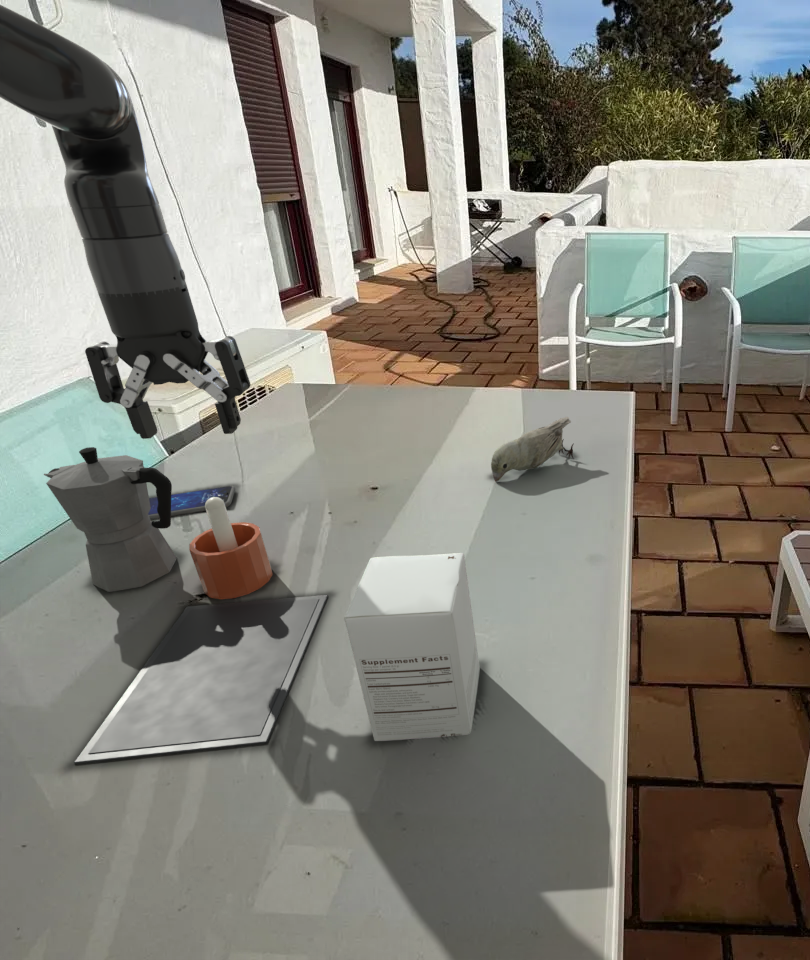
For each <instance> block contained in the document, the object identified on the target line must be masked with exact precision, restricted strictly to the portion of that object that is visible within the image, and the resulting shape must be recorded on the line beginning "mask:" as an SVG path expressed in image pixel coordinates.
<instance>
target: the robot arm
mask: <svg viewBox="0 0 810 960" xmlns="http://www.w3.org/2000/svg"><path fill="white" fill-rule="evenodd" d="M0 98H1V99H2V100H4V101H5V102H8V103H9V104H11V105H13V106H15V107H16V108H18V109H20V110H22V111H24V112H26V113H27V114H29V115H31V116H32V117H35V118H37V119H38V120H41V121H43V122H44V123H47V124H49V125H50V126H51V127H52V130H53V133H54V136H55V140H56V143H57V145H58V149H59V151H60V155H61V158H62V160H63V163H64V165H65V175H64V179H63V180H64V181H63V184H64V190H65V195H66V198H67V201H68V204H69V207H70V211H71V213H72V217H73V219H74V222H75V224H76V227H77V230H78V233H79V235H80V238H81V241H82V244H83V248H84V253H85V254H84V255H85V258H86V262H87V266H88V270H89V272H90V275H91V278H92V280H93V283H94V286H95V289H96V291H97V295H98V298H99V300H100V303H101V306H102V309H103V312H104V314H105V317H106V319H107V323H108V324H109V328H110V331H111V333H112V334H113V335H114V336H115V337H116V344H110V343H109V342H107V341H99V342H97V343H95V344H92V345H90V346H88V347H86V349H85V350H84V352H85V353H84V354H85V356H86V359H87V363H88V367H89V369H90V372H91V375H92V378H93V381H94V385H95V388H96V391H97V394H98V397H99V399H100V400H101V402H103V403H105V404H110V403H115V404H119V405H121V406H122V407H124V409H125V411H126V413H127V416H128V419H129V422H130V425H131V427H132V430H133V431H134V433H136V435H139V436H140V438H141V439H143V440H146V439H147V440H148V439H152V438H153V437H155V436H156V435H157V434H158V428H157V424H156V421H155V419H154V416H153V413H152V411H151V408H150V404H149V402H148V401H147V400H144V398H145V396H146V394H147V393H148V392H147V391H148V390H149V388H150V387H151V385H152V384H153V386H157V385H165V384H167V383H172V384H186V383H187V382H190V383H191V384H192V385H193V386H195V387H196V389H199V390H203V391H205V393H207V394H208V396H211V398H213V399H214V400H215V401H216V402H215V403H214V406H215V409H216V413H217V416H218V419H219V423H220V426H221V429H222V432H223V434H224V435H233V434H234V433H235V431H237V430H238V426H240V425H241V423H242V422H241V420H242V418H241V416H240V411H239V408H238V405H237V402H236V397H240V396H241V395H243V394H244V393H245V392H246V391H247V390H249V389H250V387H251V381H250V379H249V375H248V373H247V372H248V371H247V370H246V366H245V363H244V361H243V358H242V354H241V351H240V349H239V346H238V344H237V339H235V337H233V336H231V335H226V336H225V337H223V338H221V339H212V340H211V339H209V340H206V339H205V338H204V337H203V334H202V333H201V332H200V329H199V328H200V327H199V322H198V318H197V315H196V312H195V309H194V306H193V302H192V298H191V295H190V292H189V288H188V285H187V281H186V275H185V271H184V269H183V268H182V264H181V261H180V259H179V256H178V253H177V251H176V249H175V247H174V245H173V242H172V240H171V237H170V235H169V233H168V229H167V225H166V222H165V219H164V216H163V212H162V209H161V206H160V202H159V199H158V196H157V193H156V190H155V188H154V186H153V183H152V180H151V178H150V175H149V172H148V166H147V159H146V155H145V149H144V144H143V140H142V135H141V130H140V126H139V122H138V118H137V114H136V110H135V107H134V103H133V101H132V97H131V94H130V92H129V90H128V88H127V86H126V84H125V82H124V81H123V79H122V78H121V77H120V75H119V74H118V73H117V72H116V71H115V69H114V68H112V67H111V66H110V65H109V64H107V63H106V62H105V61H103V60H102V58H100V57H98V56H97V55H95V54H94V53H92V52H91V51H89V50H88V49H86V48H85V47H83V46H81V45H80V44H77V43H75V42H74V41H72V40H70V39H69V38H67V37H64V36H63V35H61V34H59V33H57V32H55V31H53V30H51V29H49V28H47V27H45V26H43V25H41V24H40V23H38V22H36V21H34V20H32V19H30V18H28V17H26V16H24V15H22V14H20V13H18V12H16V11H14V10H13V9H11V8H8V7H6V6H4V5H2V4H0ZM208 354H211V355H212V356H213V358H214V360H216V361H219V363H220V366H221V368H222V371H223V374H224V377H225V378H224V377H222V376H221V374H220V372H219V371H218V370H217V369H216V368H215V367H214V366H213V365H212V364H210V363H209V362H208V361H206V357H207V356H208ZM120 360H121V361H122V362H124V363H125V364H126V365H128V366H129V367H130V368H131V371H130V373H129V376H128V377H127V380H126V382H125V384H123V380H122V378H121V374H120V371H119V368H118V365H117V364H118V363H119V361H120ZM124 387H125V388H124Z"/></svg>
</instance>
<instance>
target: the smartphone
mask: <svg viewBox="0 0 810 960" xmlns="http://www.w3.org/2000/svg"><path fill="white" fill-rule="evenodd" d="M235 493H236V488H235V486H234V485H225V486H219V487H212V488H207V489H206V488H205V489H199V490H192V491H185V492H177V493H171V517H177V516H183V515H189V514H197V513H203V512H206V508H205V503H206V501H207V500H208V499H210V498H212V497H218V498H220V499H222V500H223V501H224V503H225V507H226V508H228V507H230V506H231V504H232V502H233V499H234V496H235ZM149 501H150V507H151V509H150V511H149V513H148V515H149V518H150V520H151V521H153V520H157V519H160V517H159V514H158V512H157V507H158V500H157V496H153V497H149Z"/></svg>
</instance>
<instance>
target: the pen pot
mask: <svg viewBox="0 0 810 960" xmlns="http://www.w3.org/2000/svg"><path fill="white" fill-rule="evenodd" d="M230 523H231V526H232V529H233V532H234V535H235V539H236V542H237V545H238V547H236V548H234V549H231V550H227V551H223V552H220V551H219V548H218V545H217V542H216V539H215V536H214V533H213V530H212V528H210V529H206V530H205V531H203V532H201V533H200V534H198V535H196V536H195V537H194V538H193V539H192V540H191V541H190V543H189V545H188V549H189V550H188V551H189V553H190V555H191V558H192V562H193V564H194V567H195V570H196V573H197V576H198V578H199V582H200V585H201V587H202V590H203V593H204V594H205V596H206V595H207V596H208V597H209V598H211V599H216V600H229V599H236V598H240V597H243V596H247V595H250V594H252V593H254V592H255V591H258V590H259V589H261V588H262V587H263V586H265V585H266V584H267V583H269V581H270V580H271V579H272V577H273V569H272V565H271V562H270V559H269V556H268V552H267V548H266V545H265V542H264V538H263V534H262V531H261V528H260V527H259V526H258V525H257V524H255V523H252V522H245V521H244V522H242V521H241V522H240V521H239V522H230Z"/></svg>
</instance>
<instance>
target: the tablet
mask: <svg viewBox="0 0 810 960" xmlns="http://www.w3.org/2000/svg"><path fill="white" fill-rule="evenodd" d="M328 598H329V595H328V594H322V595H308V596H298V597H297V596H295V597H284V598H274V599H273V598H272V599H262V600H261V599H259V600H250V601H237V602H225V603H213V604H202V605H193V606H192V605H191V606H190V605H189V606H186V607H185V608H184V610H182V613H181V614H180V615H179V616H178V618H177V619H176V621H175V622H174V624H173V625H172V626H171V628H170V629H169V630H168V632H167V633H166V634H165V636H164V637H163V639H162V640H161V641H160V643H159V644H158V646H157V647H156V649H155V650H154V651H153V653H152V654H151V656H150V657H149V658H148V659H147V661H146V662H145V664H144V665H143V666H142V668H141V669H140V670H139V672H138V673H137V675H136V676H135V678H134V679H133V680H132V682H131V683H130V684H129V686H128V687H127V689H125V691H124V693H123V694H122V695H121V697H120V698H119V700H118V701H117V702H116V704H114V707H112V709H111V711H110V712H109V713H108V715H107V716H106V718H105V719H104V720H103V722H101V724H100V725H99V727H98V728H97V730H96V731H95V732H94V734H93V735H92V736H91V738H90V739H89V741H88V742H87V744H85V747H84V748H83V749H82V751H81V752H80V753H79V755H78V756H77V757H76V759H75V760H74V761H73V764H74V765H82V764H84V765H85V764H92V763H100V762H101V763H102V762H110V761H120V760H128V759H139V758H147V757H156V756H164V755H165V756H166V755H173V754H174V755H175V754H183V753H192V752H201V751H202V752H203V751H211V750H220V749H229V748H230V749H231V748H238V747H247V746H256V745H257V746H258V745H265V744H268V742H269V740H270V738H271V735H272V733H273V730H274V728H275V726H276V724H277V721H278V718H279V716H280V713H281V711H282V709H283V706H284V704H285V702H286V700H287V697H288V694H289V693H290V689H291V687H292V685H293V682H294V680H295V677H296V676H297V673H298V670H299V668H300V665H301V664H302V660H303V658H304V655H305V653H306V651H307V648H308V647H309V645H310V641H311V639H312V636H313V634H314V632H315V629H316V627H317V624H318V622H319V619H320V617H321V614H322V612H323V610H324V608H325V605H326V602H327V600H328Z"/></svg>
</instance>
